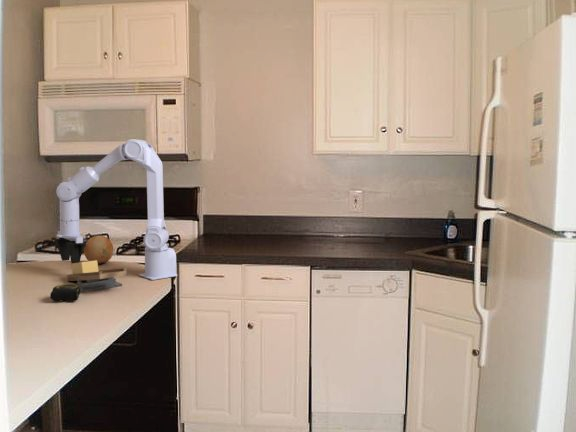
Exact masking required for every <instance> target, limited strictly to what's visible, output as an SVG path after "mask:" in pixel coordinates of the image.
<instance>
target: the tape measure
mask: <svg viewBox="0 0 576 432" xmlns="http://www.w3.org/2000/svg"><path fill="white" fill-rule="evenodd" d="M80 294H81V292H80V288H79V287H78V286H77V285H74V283H65V284H59V285H58V284H57V285H56V286H54V287H52V291H51V292H50V299H51V301H54V302H64V303H65V302H66V303H67V302H68V301H69V302H70V301H71V302H73V301H74V302H75V301H78V299H79V297H80Z"/></svg>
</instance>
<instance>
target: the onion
mask: <svg viewBox="0 0 576 432" xmlns="http://www.w3.org/2000/svg"><path fill="white" fill-rule="evenodd" d="M85 243H86V246H85V247H84V249H83V255H84V256H85V258H86V260H87V262H88V261H96V260H97V263H98V265H101V264H104V263H108V261H109V262H110V260H111V259H112V257H113V255H114V245H113V244H112V243H113V242H111V240H110V238H108V237H106V236H104V235H94V236H92V237H90V238H88V240H87V241H86V242H85Z"/></svg>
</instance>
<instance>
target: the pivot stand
mask: <svg viewBox="0 0 576 432" xmlns="http://www.w3.org/2000/svg"><path fill="white" fill-rule="evenodd" d="M73 284H74V283H73ZM74 285H77V286H78V287H79V288H80V293H88V292H94V291H100V290H105V289H106V290H107V289H112V288H117V287H118V286H119V287H122V286H123V284H122V283H121V282H119V281H116V278H115V277H114V278H111V279H104V280H98V281H91V282H87V280H80V281H76V283H75V284H74Z"/></svg>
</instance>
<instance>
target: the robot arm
mask: <svg viewBox="0 0 576 432" xmlns="http://www.w3.org/2000/svg"><path fill="white" fill-rule="evenodd" d="M126 160H127V161H128V160H131V161H133V162H136V163H138V164H139V165H140V167H142V168H144V169H145V170H146V195H147V196H146V201H147V202H146V203H147V206H146V207H147V208H146V209H147V221H146V227H145V229H146V231H145V234H144V237H143V245H144V246H145V247H144V273H139V277H140V276H141V277H143V278H146V279H148V280H150V281H155V280H156V281H157V280H162V279H167V278H173V277H178V274H177V253H176V251H175V249H174V248H173V247H169V246H168V245H167V243H168V240H169V238H170V234H169V231H168V229H167V225H166V221H165V217H164V216H165V213H164V210H165V209H164V208H165V207H164V206H165V205H164V175H163V174H164V173H163V172H164V171H163V169H164V167H163V162H162V160H161V158H160V157H159V155H158V154H157V152H156V151H155V149H154V147H153V145H151V144H150V143H149V142H148V141H146V140H144V139H135V138H131V139H127V140H126V142H125V143H122V144H120V145H118V146H117V147H115V149H113V150H112V151H111V152H109V153H108V154H107V155H106V156H105V157H103V158H102V159H101V160H99V161H98V162H97V163H95V164H94V165H93V166H87V165H86V166H85V167H84V166H82V167H80V168H79V169H78V170H79V171H78V172H77V173H76V174H74V175H73V176H72V177H71V176H69V177H67V181H64V182H60V183H59V184H58V186H57V188H56V191H55V193H56V196H57V198H58V199H59V205H58V206H59V230H58V231H57V234H56V237H57V238H55V239H54V242H55V245H56V247H58V248H57V249H58V251H59V254H60V255H59V256H60V259H61V261H63V262H64V261H70V262H71V264H72V263H80V262H81V257H82V255H83V253H84V247H85V246H86V242H84V237H83V236H82V234H81V233H80V231H81V229H80V201H79V200H80V197H81V196H82V193H84V192H86V191H87V190H88V189H90V188H91V187H93V186H94V185H95V184H96V183H98V182H99V181H100V176H101V175H102V174H103V173H105V172H106V171H107V170H109V169H111V168H113V166H114V165H116V164H118V163H119V162H121V161H126Z"/></svg>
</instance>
